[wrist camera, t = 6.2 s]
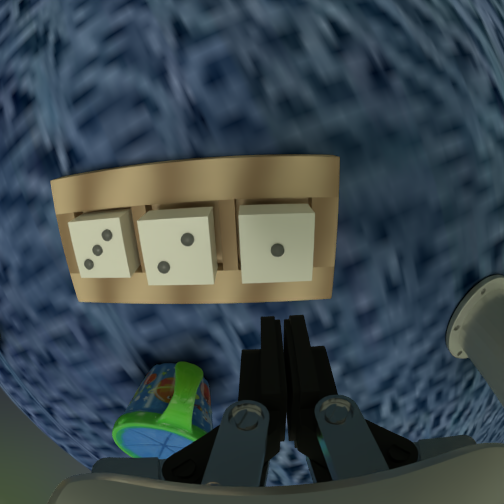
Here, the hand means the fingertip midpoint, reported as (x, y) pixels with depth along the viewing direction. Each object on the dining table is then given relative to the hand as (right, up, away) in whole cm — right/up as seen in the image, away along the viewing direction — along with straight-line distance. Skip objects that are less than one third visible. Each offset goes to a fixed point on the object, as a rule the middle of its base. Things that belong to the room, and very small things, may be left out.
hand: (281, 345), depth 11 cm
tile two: (-6, +5, +11) cm, 14 cm away
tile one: (+1, +5, +11) cm, 12 cm away
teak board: (-6, +6, +13) cm, 16 cm away
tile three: (-13, +5, +12) cm, 19 cm away
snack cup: (-10, -12, +21) cm, 26 cm away
